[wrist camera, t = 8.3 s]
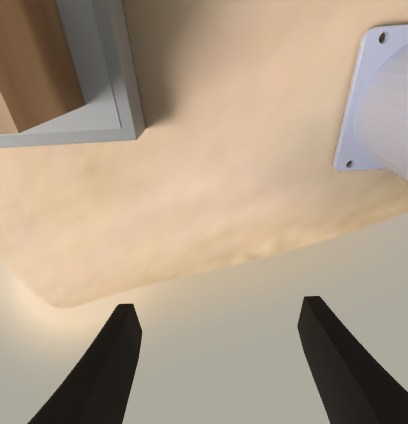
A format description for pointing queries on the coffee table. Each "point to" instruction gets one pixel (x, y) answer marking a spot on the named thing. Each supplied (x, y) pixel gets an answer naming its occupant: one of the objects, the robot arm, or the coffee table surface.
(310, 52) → the coffee table surface
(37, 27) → the walnut block
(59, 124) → the plinth
